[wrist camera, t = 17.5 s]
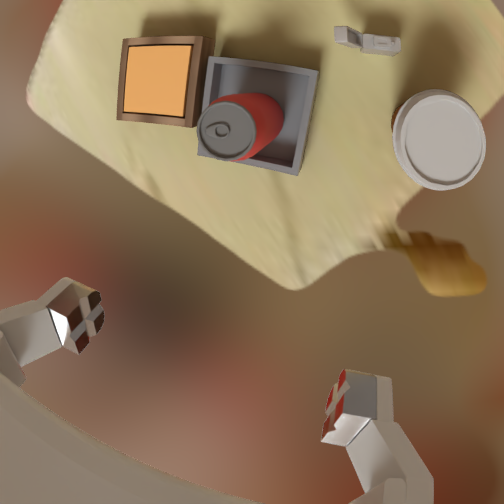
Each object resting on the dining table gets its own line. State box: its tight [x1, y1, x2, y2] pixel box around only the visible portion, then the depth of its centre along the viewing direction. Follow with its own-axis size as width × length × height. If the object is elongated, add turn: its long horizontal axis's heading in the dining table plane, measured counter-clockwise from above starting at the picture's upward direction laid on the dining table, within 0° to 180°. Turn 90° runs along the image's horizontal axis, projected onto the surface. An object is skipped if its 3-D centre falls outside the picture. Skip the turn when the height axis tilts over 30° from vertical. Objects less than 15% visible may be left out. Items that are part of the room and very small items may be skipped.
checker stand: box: [117, 36, 215, 128], centre depth 35 cm, size 12×12×4 cm
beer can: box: [197, 93, 284, 161], centre depth 31 cm, size 7×7×12 cm
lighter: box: [334, 26, 401, 56], centre depth 26 cm, size 7×2×8 cm, turn 93°
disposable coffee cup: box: [391, 89, 486, 190], centre depth 27 cm, size 10×10×12 cm
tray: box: [197, 56, 320, 176], centre depth 35 cm, size 13×13×4 cm
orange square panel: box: [124, 46, 194, 117], centre depth 34 cm, size 9×9×1 cm
